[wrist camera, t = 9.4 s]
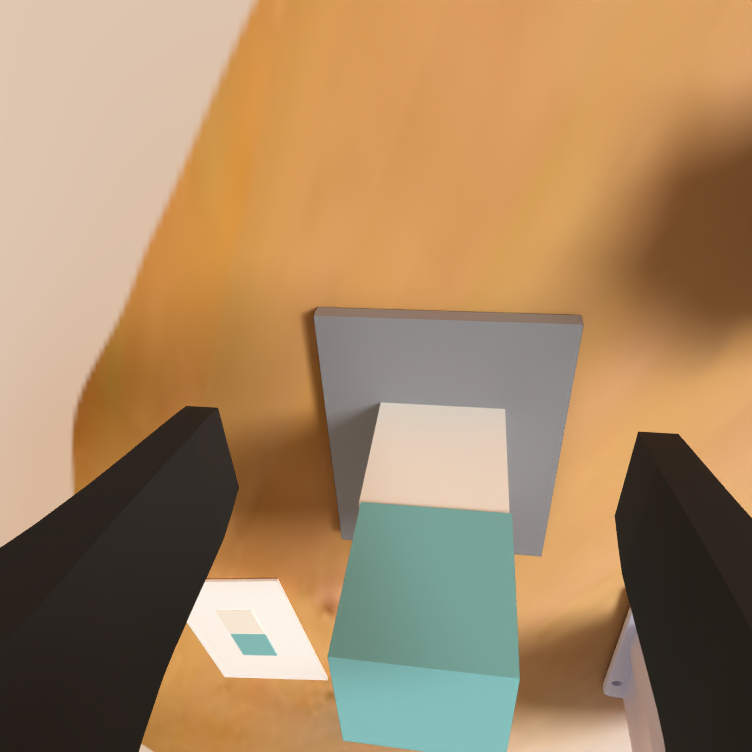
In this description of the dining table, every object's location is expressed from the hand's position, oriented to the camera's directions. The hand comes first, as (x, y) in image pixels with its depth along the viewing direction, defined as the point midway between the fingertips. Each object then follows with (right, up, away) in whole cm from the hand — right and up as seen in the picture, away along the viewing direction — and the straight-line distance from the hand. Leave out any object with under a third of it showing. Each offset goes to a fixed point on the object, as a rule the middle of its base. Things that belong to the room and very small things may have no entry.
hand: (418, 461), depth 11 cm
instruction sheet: (-8, -13, +25) cm, 29 cm away
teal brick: (+1, -4, +9) cm, 10 cm away
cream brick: (+2, -1, +13) cm, 13 cm away
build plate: (+2, -1, +14) cm, 14 cm away
